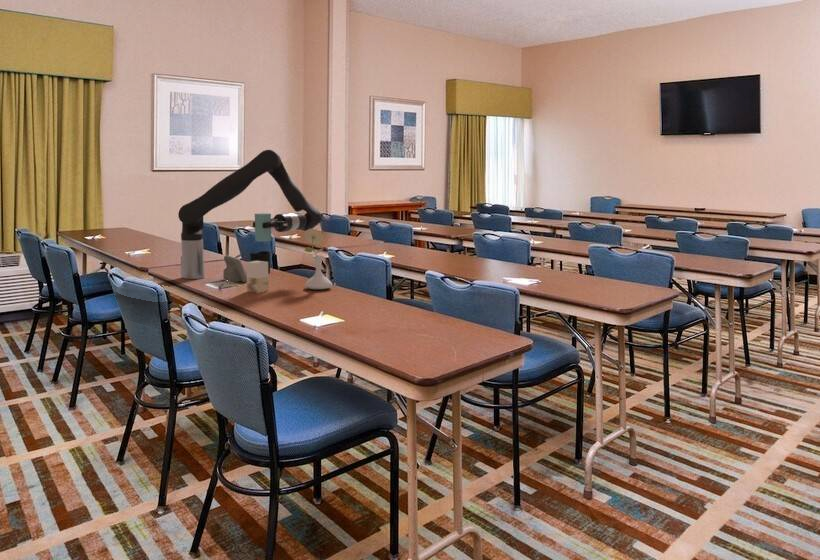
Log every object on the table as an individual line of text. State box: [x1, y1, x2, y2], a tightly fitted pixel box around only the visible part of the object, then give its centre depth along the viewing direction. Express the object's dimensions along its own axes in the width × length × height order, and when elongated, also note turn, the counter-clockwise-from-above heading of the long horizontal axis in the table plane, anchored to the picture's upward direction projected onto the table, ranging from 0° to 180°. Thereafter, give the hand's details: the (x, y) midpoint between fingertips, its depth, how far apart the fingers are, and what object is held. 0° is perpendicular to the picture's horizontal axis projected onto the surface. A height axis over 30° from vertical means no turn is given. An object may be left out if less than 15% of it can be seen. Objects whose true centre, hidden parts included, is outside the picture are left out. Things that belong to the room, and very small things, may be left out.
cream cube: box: [246, 261, 269, 278], centre depth 264 cm, size 6×6×6 cm
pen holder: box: [249, 250, 271, 275], centre depth 309 cm, size 9×9×10 cm
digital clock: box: [222, 255, 247, 283], centre depth 289 cm, size 16×9×11 cm, turn 24°
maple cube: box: [246, 276, 270, 294], centre depth 265 cm, size 6×6×6 cm
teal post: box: [254, 212, 272, 243], centre depth 265 cm, size 4×4×11 cm
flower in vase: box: [303, 228, 333, 290], centre depth 271 cm, size 13×11×25 cm
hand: (258, 225), depth 262 cm, fingers closed on teal post, 4 cm apart
